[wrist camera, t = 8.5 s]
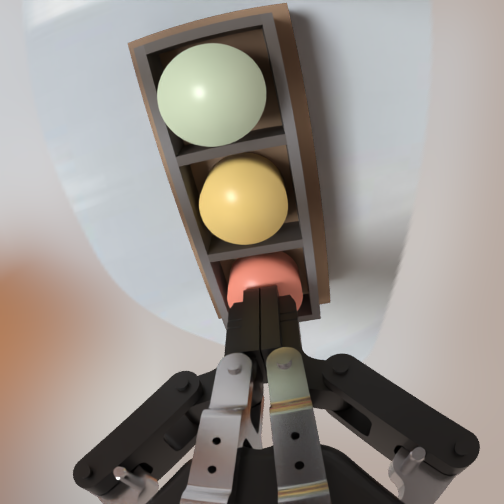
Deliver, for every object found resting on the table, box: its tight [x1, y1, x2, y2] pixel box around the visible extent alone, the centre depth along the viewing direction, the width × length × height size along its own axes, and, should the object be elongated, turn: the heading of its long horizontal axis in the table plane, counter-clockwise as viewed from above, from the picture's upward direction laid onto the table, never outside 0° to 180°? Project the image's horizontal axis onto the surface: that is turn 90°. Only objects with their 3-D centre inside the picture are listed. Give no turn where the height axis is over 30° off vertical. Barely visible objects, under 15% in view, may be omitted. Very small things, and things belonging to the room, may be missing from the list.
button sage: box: [157, 43, 266, 147], centre depth 10 cm, size 3×3×2 cm
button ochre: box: [199, 153, 288, 245], centre depth 13 cm, size 3×3×2 cm
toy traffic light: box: [128, 3, 330, 330], centre depth 14 cm, size 15×6×4 cm, turn 12°
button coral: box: [227, 251, 303, 311], centre depth 15 cm, size 3×3×2 cm
